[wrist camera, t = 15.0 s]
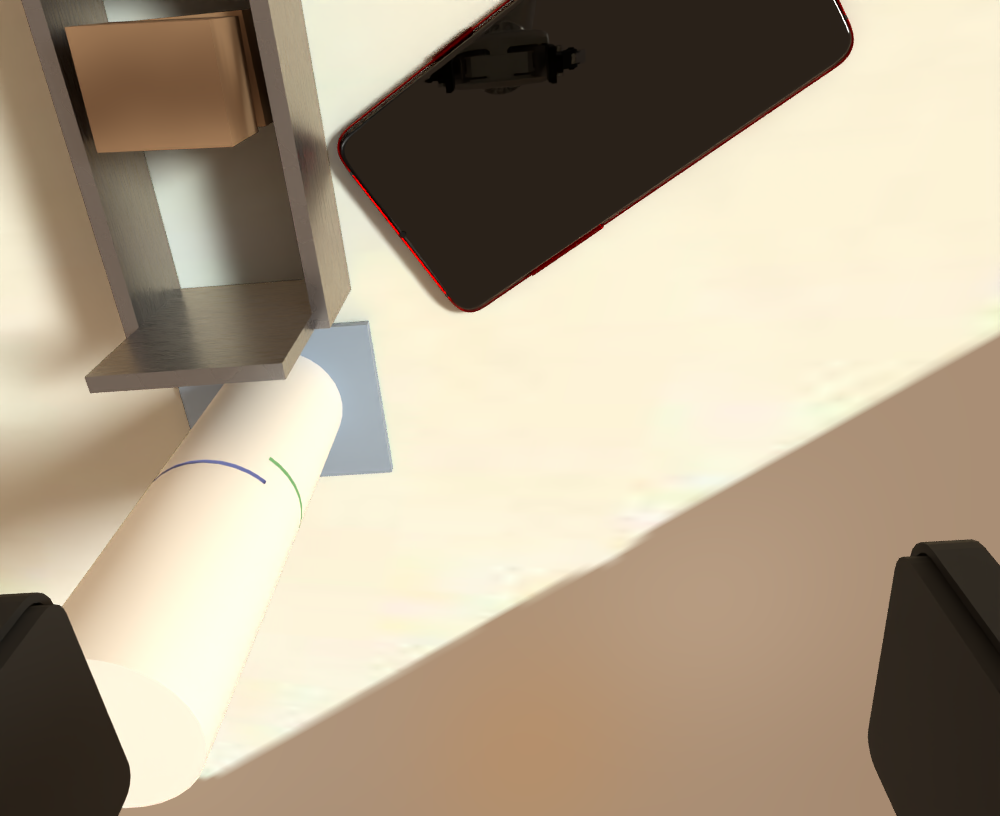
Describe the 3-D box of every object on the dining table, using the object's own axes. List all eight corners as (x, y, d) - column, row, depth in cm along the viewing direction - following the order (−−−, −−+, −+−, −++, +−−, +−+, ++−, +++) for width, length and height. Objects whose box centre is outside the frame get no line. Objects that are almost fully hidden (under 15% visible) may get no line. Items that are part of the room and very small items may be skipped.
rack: (72, -50, 40) (-89, -61, 29) (288, -72, 40) (204, -90, 29) (170, 302, 48) (73, 394, 38) (351, 289, 48) (303, 378, 37)
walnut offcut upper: (107, 22, 38) (64, 27, 34) (238, 15, 37) (209, 19, 34) (134, 137, 40) (97, 152, 36) (258, 131, 40) (233, 147, 36)
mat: (168, 335, 49) (164, 339, 49) (368, 320, 49) (366, 324, 48) (209, 478, 54) (206, 483, 53) (392, 467, 53) (391, 472, 53)
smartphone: (872, 47, 41) (465, 325, 48) (860, 45, 42) (466, 315, 49) (755, -201, 36) (323, 144, 43) (746, -194, 38) (329, 139, 44)
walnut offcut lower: (131, 21, 42) (90, 25, 38) (268, 7, 41) (241, 9, 37) (158, 124, 44) (123, 139, 40) (288, 112, 44) (265, 126, 40)
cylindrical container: (254, 329, 48) (32, 625, 26) (363, 389, 50) (240, 715, 28) (206, 420, 51) (-33, 758, 29) (310, 474, 53) (160, 833, 31)
